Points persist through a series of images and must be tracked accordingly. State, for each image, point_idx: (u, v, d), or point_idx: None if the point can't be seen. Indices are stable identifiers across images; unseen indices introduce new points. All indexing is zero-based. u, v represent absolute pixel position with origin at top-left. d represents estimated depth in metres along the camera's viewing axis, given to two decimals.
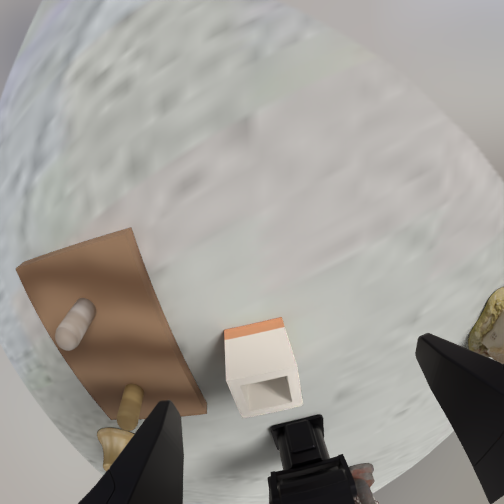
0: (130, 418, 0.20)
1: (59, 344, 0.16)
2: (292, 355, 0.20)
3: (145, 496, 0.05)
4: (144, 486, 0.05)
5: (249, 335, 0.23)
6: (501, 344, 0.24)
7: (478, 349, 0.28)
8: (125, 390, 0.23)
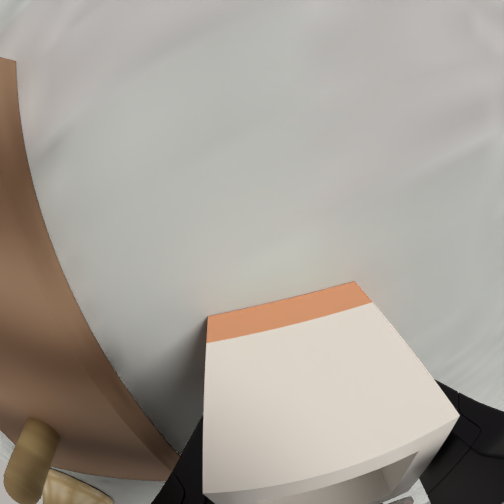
0: (21, 487, 0.05)
1: None
2: (431, 382, 0.05)
3: None
4: None
5: (277, 330, 0.08)
6: None
7: None
8: (23, 428, 0.08)
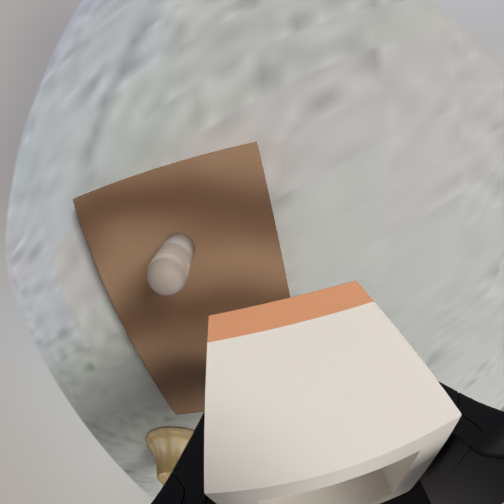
0: None
1: (157, 283, 0.13)
2: (433, 382, 0.05)
3: None
4: None
5: (279, 329, 0.08)
6: None
7: None
8: None
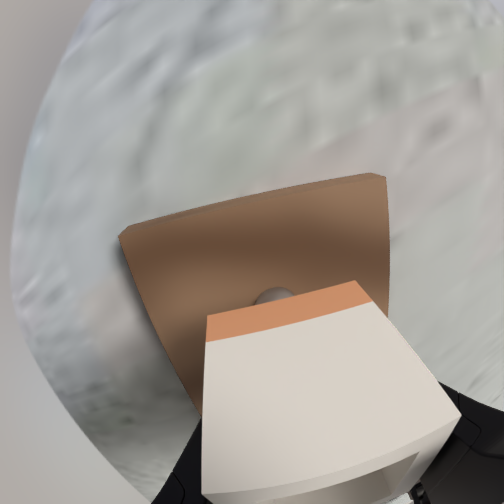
0: None
1: None
2: (432, 382, 0.05)
3: None
4: None
5: (277, 329, 0.08)
6: None
7: None
8: None
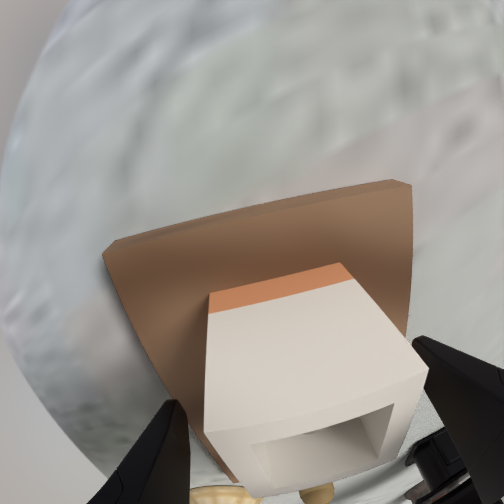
0: (330, 489, 0.11)
1: None
2: (403, 341, 0.06)
3: (153, 496, 0.05)
4: (152, 486, 0.05)
5: (270, 302, 0.09)
6: None
7: None
8: None
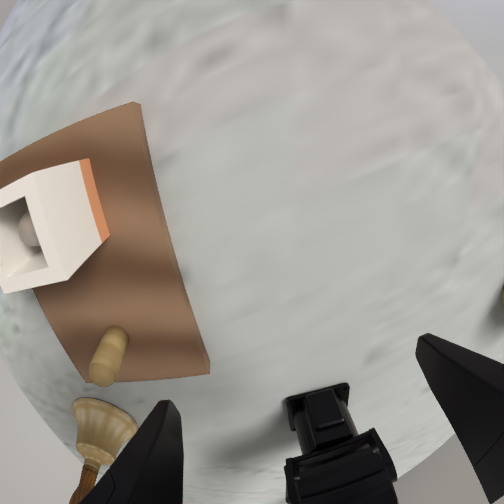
0: (107, 367, 0.15)
1: (21, 233, 0.11)
2: (44, 169, 0.10)
3: (145, 496, 0.05)
4: (144, 486, 0.05)
5: None
6: None
7: None
8: (105, 333, 0.18)
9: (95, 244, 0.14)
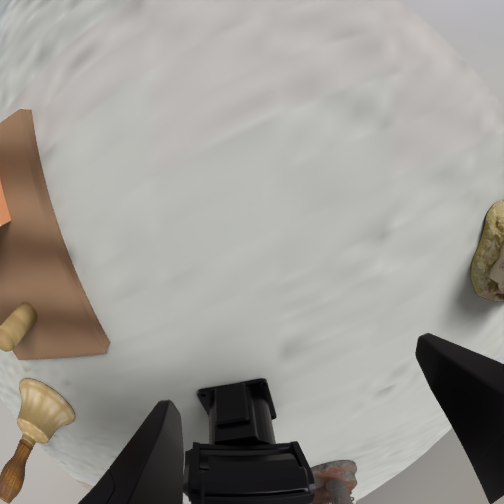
0: (6, 333, 0.14)
1: None
2: None
3: (145, 496, 0.05)
4: (144, 486, 0.05)
5: None
6: None
7: (487, 288, 0.22)
8: (16, 308, 0.17)
9: None
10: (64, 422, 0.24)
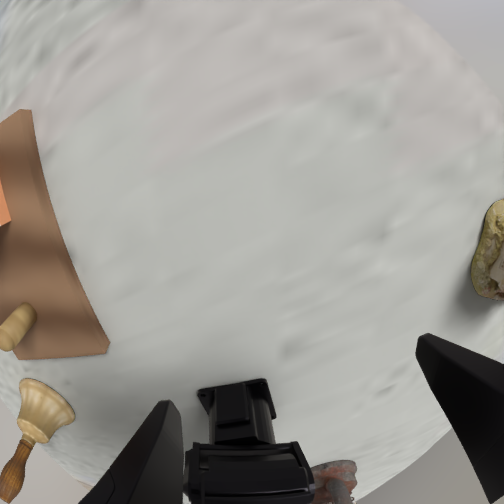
0: (6, 333, 0.14)
1: None
2: None
3: (145, 496, 0.05)
4: (144, 486, 0.05)
5: None
6: None
7: (487, 287, 0.22)
8: (16, 308, 0.17)
9: None
10: (64, 422, 0.24)
